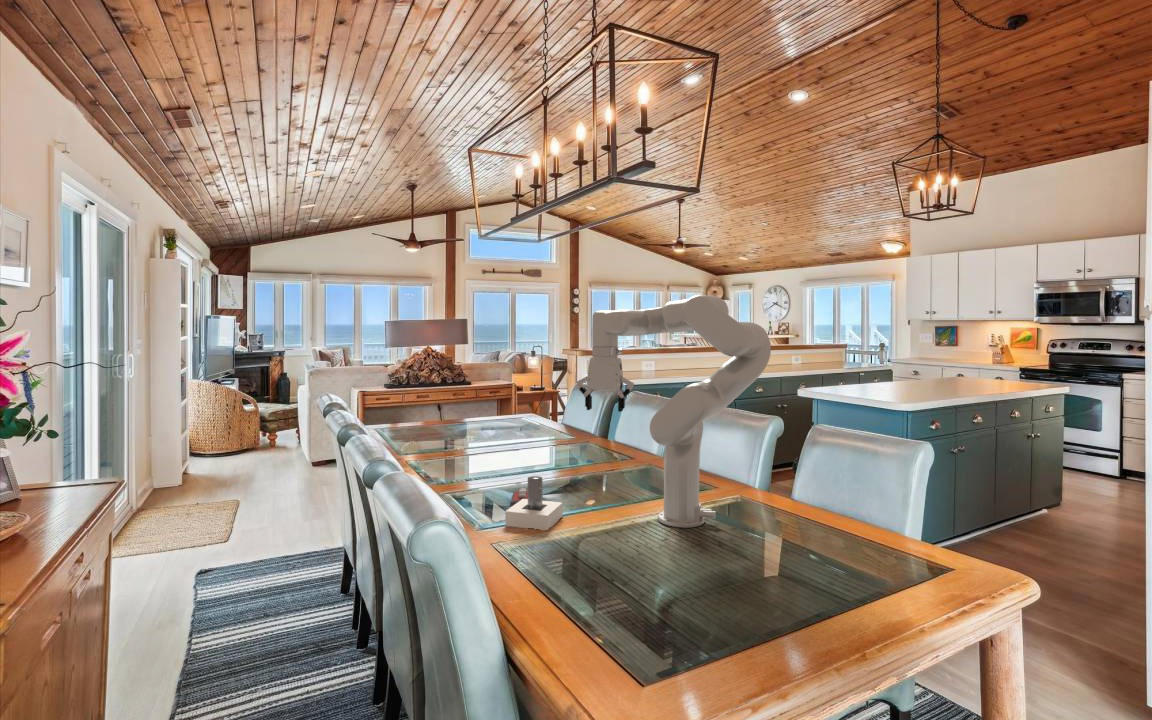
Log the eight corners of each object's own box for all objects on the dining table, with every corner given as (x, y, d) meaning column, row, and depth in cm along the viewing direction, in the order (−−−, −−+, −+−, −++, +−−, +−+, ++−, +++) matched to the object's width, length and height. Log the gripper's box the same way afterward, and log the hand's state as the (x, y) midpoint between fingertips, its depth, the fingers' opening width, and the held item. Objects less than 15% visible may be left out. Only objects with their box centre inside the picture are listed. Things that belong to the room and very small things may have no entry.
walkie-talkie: (540, 513, 172) (542, 493, 192) (540, 498, 171) (542, 479, 191) (509, 513, 172) (514, 493, 191) (509, 498, 171) (514, 480, 191)
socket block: (562, 516, 167) (562, 502, 167) (547, 530, 156) (547, 515, 156) (523, 512, 171) (523, 498, 171) (505, 525, 160) (505, 511, 159)
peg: (544, 519, 165) (544, 476, 164) (539, 524, 161) (539, 480, 160) (531, 518, 166) (531, 475, 165) (525, 522, 162) (525, 479, 161)
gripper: (636, 352, 177) (636, 409, 178) (580, 351, 183) (580, 407, 184) (630, 353, 170) (630, 413, 171) (573, 352, 175) (573, 410, 176)
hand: (604, 410), depth 177 cm, fingers open, 9 cm apart
